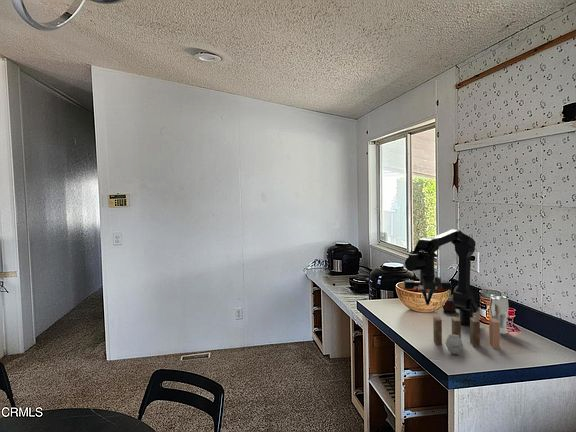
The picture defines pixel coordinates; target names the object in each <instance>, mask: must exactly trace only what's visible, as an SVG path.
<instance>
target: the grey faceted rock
mask: <svg viewBox="0 0 576 432" xmlns="http://www.w3.org/2000/svg"><path fill="white" fill-rule="evenodd" d="M445 346H446V348H447V350H448V352H449V353H450V354H452V355H458V354H460V353H462V351H463V347H464V343H463V342H462V338H461V339H460V338H459V335H455V334H452V333H451V334H449V335H448V337H447V338H446V342H445Z"/></svg>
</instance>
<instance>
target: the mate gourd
mask: <svg viewBox="0 0 576 432" xmlns="http://www.w3.org/2000/svg"><path fill="white" fill-rule="evenodd" d="M457 289H458V285H456V286H455V287H454V289H453V292H455V291H456V290H457ZM449 295H450V296H449V298H448V300H447V302H446V303H445V305H444V306H443V305H442V309H443V311H442V312H443V313H449V314H452V315H453V313H457V309H455V306H454V303H453V294H449Z"/></svg>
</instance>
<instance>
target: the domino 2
mask: <svg viewBox="0 0 576 432" xmlns="http://www.w3.org/2000/svg"><path fill="white" fill-rule="evenodd" d="M452 334H455V335H459V338H460V339H461V340H462V326H461V321H460V317H458V316H452V317H451V335H452Z"/></svg>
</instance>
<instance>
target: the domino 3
mask: <svg viewBox="0 0 576 432" xmlns="http://www.w3.org/2000/svg"><path fill="white" fill-rule="evenodd" d="M469 343H470V344H471V346H472V347H474V348H480V347H481V321H480V320H479V319H478V317H473V318H470V326H469Z"/></svg>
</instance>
